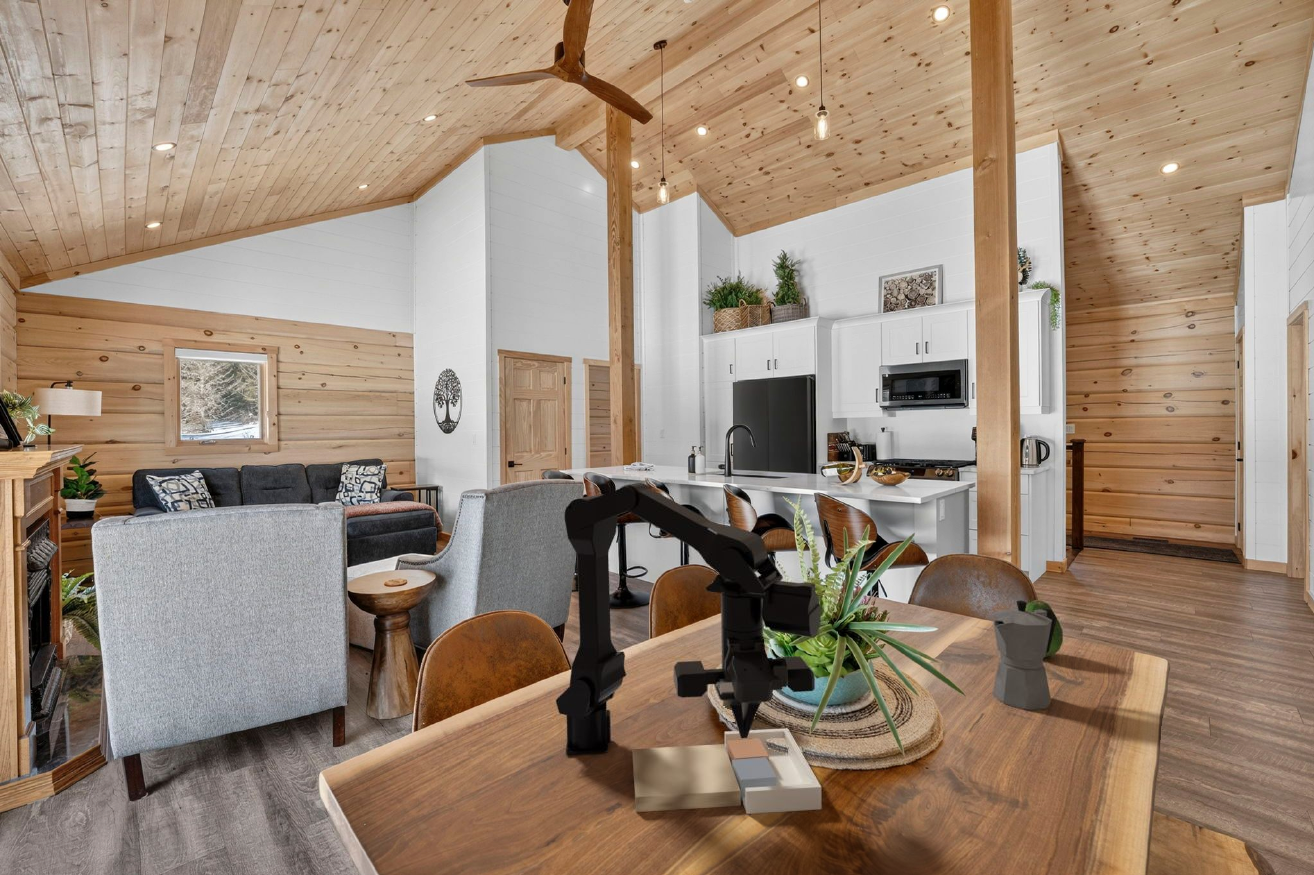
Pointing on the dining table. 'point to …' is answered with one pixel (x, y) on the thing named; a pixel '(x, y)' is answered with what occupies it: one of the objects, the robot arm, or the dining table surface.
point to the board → (684, 778)
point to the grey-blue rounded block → (753, 773)
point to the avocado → (1058, 630)
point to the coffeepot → (1023, 656)
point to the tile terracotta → (746, 749)
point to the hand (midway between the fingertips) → (743, 736)
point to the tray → (782, 778)
